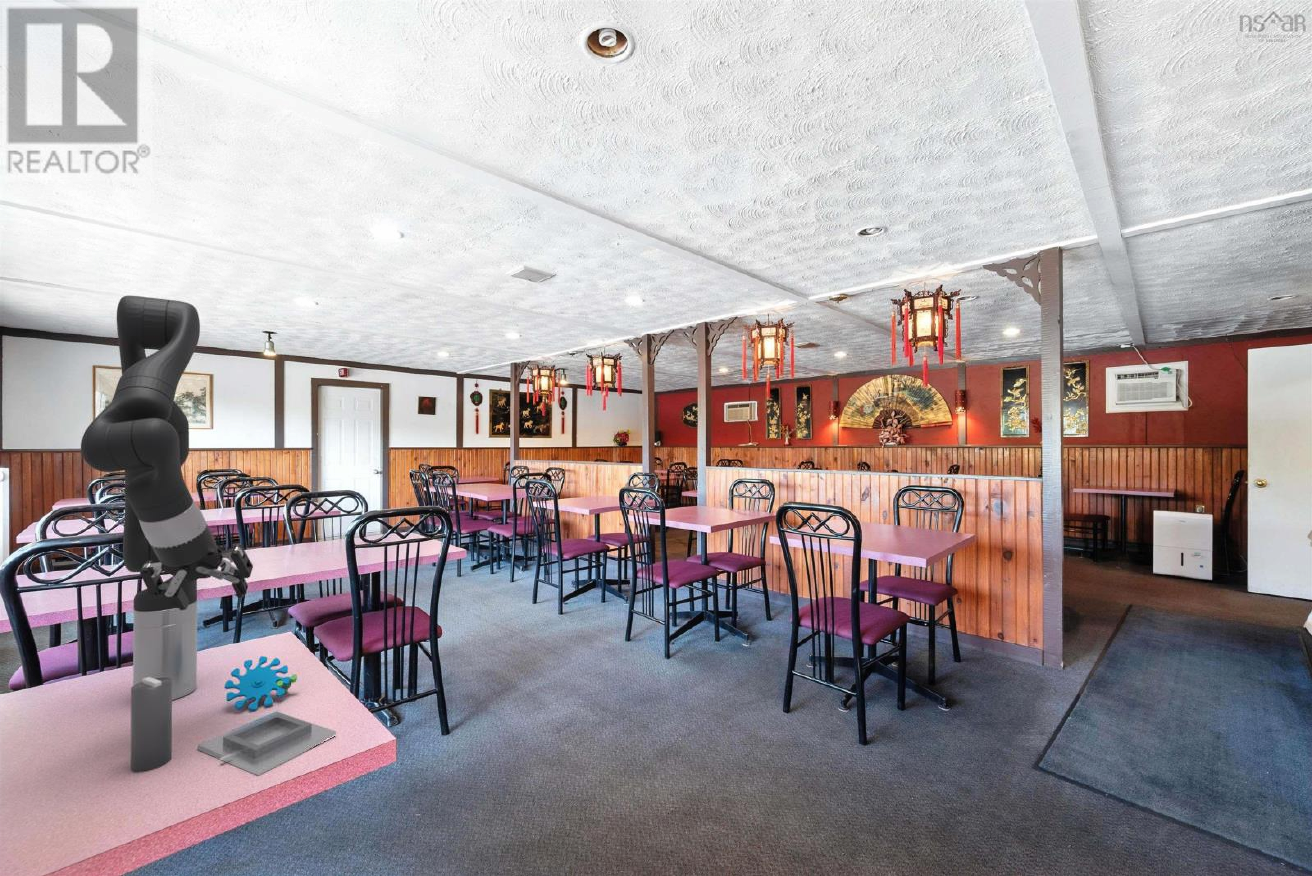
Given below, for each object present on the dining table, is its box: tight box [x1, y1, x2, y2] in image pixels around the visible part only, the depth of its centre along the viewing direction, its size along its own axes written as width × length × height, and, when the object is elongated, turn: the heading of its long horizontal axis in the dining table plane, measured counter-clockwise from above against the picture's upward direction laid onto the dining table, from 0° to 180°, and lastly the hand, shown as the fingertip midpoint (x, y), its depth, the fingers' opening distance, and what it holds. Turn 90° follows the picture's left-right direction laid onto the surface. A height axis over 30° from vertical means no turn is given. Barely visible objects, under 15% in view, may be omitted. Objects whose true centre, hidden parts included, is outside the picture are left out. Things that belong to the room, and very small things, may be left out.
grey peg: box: [130, 677, 173, 773], centre depth 84 cm, size 5×5×13 cm
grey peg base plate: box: [196, 711, 337, 776], centre depth 90 cm, size 16×13×2 cm
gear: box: [224, 655, 298, 712], centre depth 105 cm, size 11×6×10 cm
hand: (214, 600), depth 99 cm, fingers open, 8 cm apart
